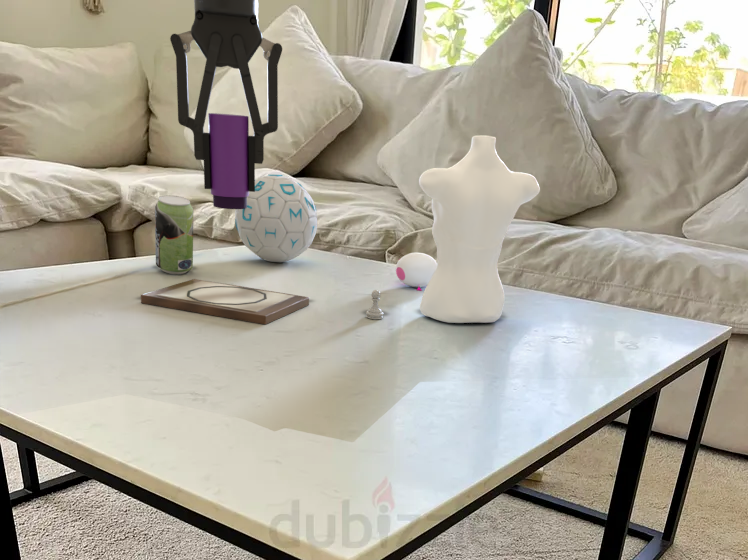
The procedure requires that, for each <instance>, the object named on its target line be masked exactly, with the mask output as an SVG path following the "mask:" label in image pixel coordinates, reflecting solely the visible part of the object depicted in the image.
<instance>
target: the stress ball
mask: <svg viewBox="0 0 748 560" xmlns="http://www.w3.org/2000/svg"><path fill="white" fill-rule="evenodd" d="M436 268H437V260H436V259H434V257H432V256H431V255H429V254H427V253H424V252H410V253H407V254H405V255H403V256H402V257H401V258H398V261H397V262H396V264H395V275H396V277H397V279H398V280H399V281H400V282H401V283H402V284H404V285H406V286H408V287H412V288H417V289H416V291H423V289H421V288H423V287H424V288H425V287H426V286H427V285H428V283H429V281H430V279H431V278H432V276H433V274H434V272H435V270H436Z"/></svg>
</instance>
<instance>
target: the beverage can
mask: <svg viewBox="0 0 748 560" xmlns="http://www.w3.org/2000/svg"><path fill="white" fill-rule="evenodd" d="M154 226H155V228H154V233H155V235H154V236H155V241H154V242H155V265H156V266H157V268H159V269H160V270H161V271H162V272H164V273H166V274H169V275H183V274H187V272H188V271H190V270H192V269H193V267H194V208H193V206H192V204H191V201H190V199H189V198H186V197H184V196H179V195H172V194H171V195H168V194H167V195H161V196H159V197H158V201H157V202H156V204H155V206H154Z"/></svg>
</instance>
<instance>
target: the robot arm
mask: <svg viewBox="0 0 748 560" xmlns="http://www.w3.org/2000/svg"><path fill="white" fill-rule="evenodd" d="M193 5H194V7H193V8H194V20H193V23H192V25H191V28H190V30H188V31H185V32H182V33H172V34H170V37H169V40H170V44H171V46H172V49H173V51H174V55H175V65H176V66H175V67H176V70H175V71H176V93H177V94H176V97H177V121H178V123H179V125H181V126H183V127H185V128H187V129H189V130H190V131H192V133H193V150H194V151H193V153H194V158H195V160H196V161H203V179H204V180H203V182H204V183H203V184H204V185H203V186H204V189H205V190H211V182H210V148H209V132H205V131H204V130H205V129H204V128H205V124H206V119H207V118H206V117H207V113H208V109H209V104H210V99H211V94H212V89H213V85H214V80H215V75H216V71H217V68H225V67H229V68H232V69H236V70H238V71H239V75H240V79H241V83H242V87H243V92H244V95H245V96H244V97H245V100H246V104H247V109H248V113H249V117H250V122H251V125H252V129H253V135H249V136H248V139H249V191H250V192H255V180H256V166H255V164H257V165H262V164H263V163H264V160H265V159H264V154H265V153H264V152H265V151H264V149H265V148H264V145H265V144H264V139H265V137H266V136H267V135H268V134H272V133H276V132H277V131H278V129H279V128H278V127H279V105H278V104H279V97H278V96H279V95H278V94H279V92H278V91H279V89H278V87H279V84H278V83H279V81H278V79H279V77H278V75H279V74H278V69H279V68H278V65H279V62H280V59H281V56H282V53H283V46H282V45H281V43H279V42H273V41H271V40H269V39H267V38H265V37H263V34H262V31H261V28H260V26H259V0H193ZM193 41H194V42H195V44H196V46H197V47H198V49H199V50H200V51H201V53H202V55H203V56H204V58H205V59H206V61H205V66H204V70H203V75H202V80H201V81H202V82H201V85H200V90H199V96H198V101H197V105H196V110H195V115H194V118H193V117H191V116H190V105H189V103H190V102H189V73H188V72H189V69H188V68H189V67H188V66H189V63H188V55H187V54H189V53H190V52H191V50H192V42H193ZM259 48H261V49H262V51H263V53H262V56H263V59H264V60H266V61H267V63H266V88H267V89H266V91H267V92H266V93H267V94H266V97H267V99H266V100H267V103H266V104H267V122H265V123H263V122H262V117H261V114H260V109H259V105H258V101H257V97H256V93H255V88H254V84H253V80H252V79H253V78H252V75H251V70H250V67H249V62H250V61H251V60H252V58H253V56H254V55H255V54H256V52H257V51H258V49H259Z"/></svg>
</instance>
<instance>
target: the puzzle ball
mask: <svg viewBox="0 0 748 560" xmlns="http://www.w3.org/2000/svg"><path fill="white" fill-rule="evenodd" d="M234 220H235V221H234V223H235V228H236V231H237V233H238V237H239V238H240V240H241V242H242V243H243V245H244V246H245V247H246V248H247V249H248V250H250V252H252V253H253V254H254V255H256V256H257V257H258V258H260V259H262V260H264V261H266V262H271V263H284V262H288V261H291V260H294V259H295V258H298V257H299V256H300V255H302V254H303V253H304V252H306V251H307V250H308V249H309V248H310V246H311V245H312V244H313V241H314V240H315V236H316V234H317V230H318V213H317V206H316V204H315V201H314V199H313V198H312V196H311V195H310V193H309V192H308V191H307V190H306V189H305V188H304V187H303V185H302V184H301V183H299V182H296V181H295V180H294V179H292V178H290V177H287V176H285V175H284V174H268V173H267V175H264V176H260V177H258V178H257V179H256V178H255V192H250V191H249V196H248V197H247V208H245V209H235V210H234Z"/></svg>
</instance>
